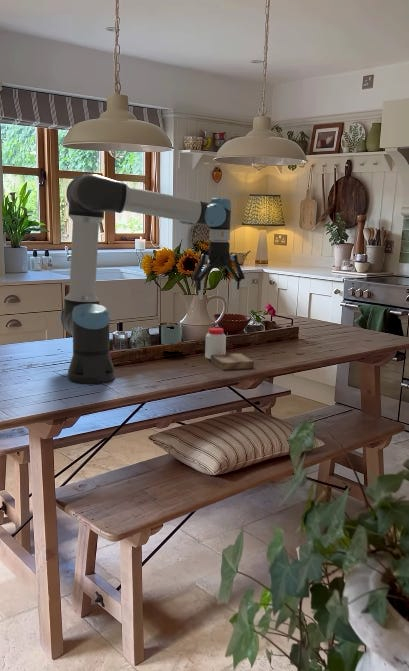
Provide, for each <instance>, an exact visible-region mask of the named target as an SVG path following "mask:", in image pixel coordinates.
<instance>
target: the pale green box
mask: <svg viewBox="0 0 409 671" xmlns="http://www.w3.org/2000/svg"><path fill="white" fill-rule="evenodd" d="M171 326H173V327H174V329H170V328H167V327H171ZM160 329H161V334H160V338H161V340H160V341H161V345H162V344H170V343H178V342H181V343H182V326H181V325H178V324H164V325H161V328H160Z"/></svg>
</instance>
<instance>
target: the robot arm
mask: <svg viewBox="0 0 409 671" xmlns="http://www.w3.org/2000/svg"><path fill="white" fill-rule="evenodd" d="M65 193H66V196H65V197H66V200H67V202H68V212H67V213H68V217H69V218H70V219H71V221H72V230H71V232H72V233H71V234H72V235H71V252H70V269H69V270H70V276H69V277H70V278H69V292H68V294H67V295H65V296H64V304H63V308H62V310H61V313H60V323H61V325H62V327H63V329H64V330H65V331H66V333H67V334H69V335H71V336H72V357H71V361H70V364H69V367H68V368H67V369H68V370H67V379H68V380H69V381H70V382H73V383H78V384H87V385H88V384H100V383H101V384H103V383H108V382H110V381H112V380H114V379H115V378H116V375H115V374H116V370H115V367H114V364H113V361H112V358H111V355H110V321H111V316H110V311H109V309H108V307H106V306H104V305H101V304H100V298H99V297H98V296H97V295H96V284H97V270H98V268H97V265H98V248H99V229H100V223H101V222H102V221H103V220H104V219H105V213H106V212H109V213H119V214H122V213H123V212H130V213H136V214H142V215H147V216H153V217H158V218H163V219H169V220H175V221H179V222H180V223H181V225H188V226H189V225H196V226H206V227H209V238H208V240H210V241H209V243H208V254H204V253H202V254H200V257H199V262H198V263H197V264H196V265H197V266H196V268H195V269H194V271H193V273H192V276H191V279H192V280H193V281H195V282H196V285H195V286H196V287H195V288H196V291H198V292H197V294H198V296H197V297H198V298H197V299H198V300H203V299H204V282H203V280H204V278H205V277H206V275H207V274H208V273H209V272H210V271H211V269H212V268H218V267H221V268H225V269H226V270H227V271H228V273H229V274H230V275H231V276H232V278H233V279H234V280H232V290H231V292H232V293H231V294H232V295H231V298H232V299H236V300H237V298H238V290H240V285H241V284H240V282H241V281H243V280H245V274H244V271H243V270H242V268H241V267H242V266H241V265H240V263H239V261H238V258H239V257H238V254H235V253H233V254H230V245H231V243H230V242H229V241H230V240H231V220H232V219H231V218H232V216H231V215H232V214H231V213H232V201H231V199H230V198H224V197H223V198H222V197H221V198H220V197H211V199H210V200H209V201H210V202H205V201H201V200H196V199H193V198H192V199H191V198H187V197H182V196H176V195H171V194H166V193H161V192H157V191H151V190H146V189H143V188H139V187H138V188H136V187H132V186H128V184H127V183H126V182H124V181H119V180H115V179H111V178H109V177H106V176H104V175H100V174H96V173H95V174H81V175H79V176H76V177H75V178H73V179H72V180H71V181H70V182H69V184H68V185H67V188H66V192H65ZM230 260H231V261H232V263H233V266H234V268H233V266H231V264H230V262H229V261H230ZM206 261H209V262H207V264H206V266H205V267H204V265H205V263H206ZM203 267H204V269H203ZM202 269H203V270H202ZM234 269H235V270H234ZM201 270H202V271H201Z"/></svg>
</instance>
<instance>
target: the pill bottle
mask: <svg viewBox="0 0 409 671" xmlns="http://www.w3.org/2000/svg"><path fill="white" fill-rule="evenodd" d="M204 342H205V344H204V345H205V346H204V347H205V348H204V349H205V350H204V357H205V358H206V359H208V360H211V355H220V354H226V352H227V351H226V348H227V347H226V346H227V335H226V334H225V333H224V328H223V327H209V328H208V332H207V333H206V335H205V341H204Z"/></svg>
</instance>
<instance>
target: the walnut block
mask: <svg viewBox="0 0 409 671" xmlns="http://www.w3.org/2000/svg"><path fill="white" fill-rule="evenodd" d="M210 362H211V364H213V365H215V366H217V367H218V368H219V369H220V370H222V371H223V370H237V369H253V367H254V366H255V365H254V364H255V360H252V358H249V357H248V356H246V355H244V354H243V353H241V352H239V353H225V354H220V355H211V359H210Z"/></svg>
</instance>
